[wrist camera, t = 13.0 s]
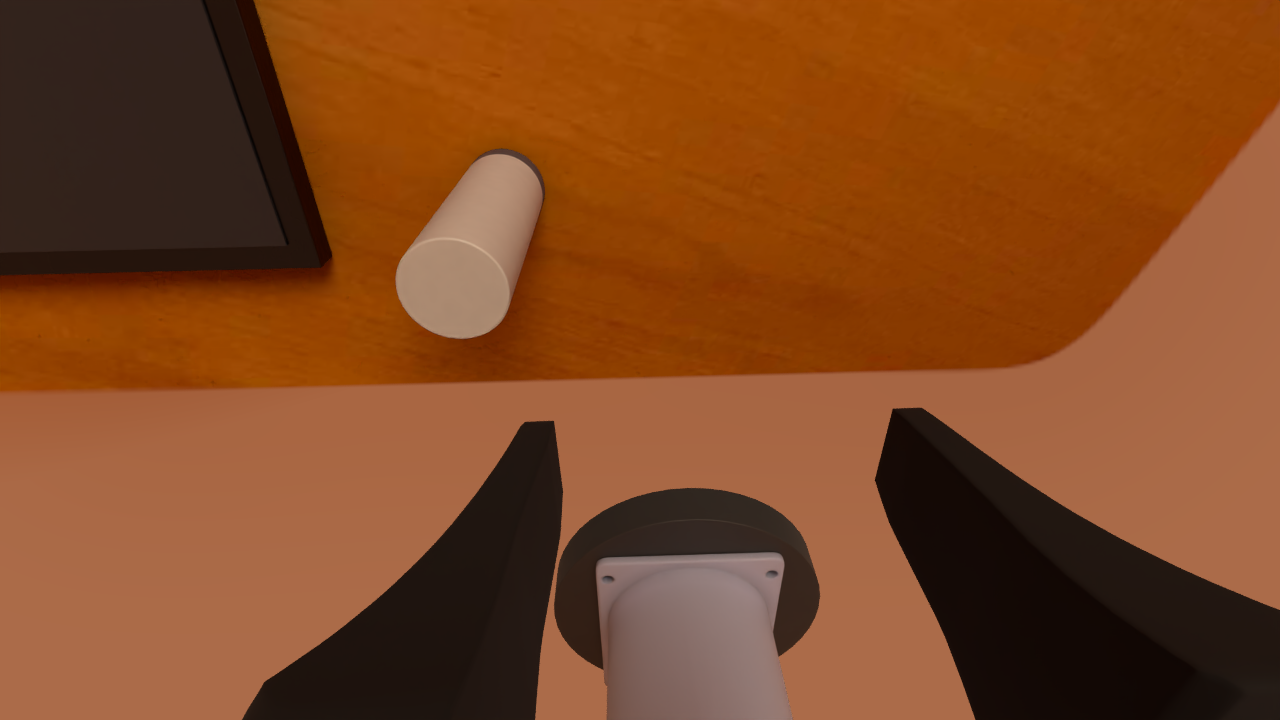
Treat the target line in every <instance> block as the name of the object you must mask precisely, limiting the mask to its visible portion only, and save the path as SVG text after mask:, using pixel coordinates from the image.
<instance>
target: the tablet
mask: <svg viewBox="0 0 1280 720" xmlns="http://www.w3.org/2000/svg"><path fill="white" fill-rule="evenodd" d="M331 257H332V254H331V251H330V247H329V244H328V241H327V238H326V235H325V231H324V228H323V225H322V222H321V218H320V215H319V212H318V209H317V205H316V202H315V199H314V196H313V193H312V189H311V186H310V183H309V180H308V176H307V173H306V170H305V167H304V163H303V160H302V157H301V154H300V150H299V147H298V144H297V141H296V138H295V134H294V131H293V128H292V125H291V121H290V118H289V115H288V112H287V108H286V105H285V102H284V99H283V96H282V92H281V89H280V86H279V83H278V79H277V76H276V73H275V70H274V66H273V63H272V60H271V57H270V53H269V50H268V47H267V44H266V41H265V37H264V34H263V31H262V28H261V24H260V21H259V18H258V15H257V11H256V8H255V5H254V2H253V0H0V275H28V274H70V273H112V272H154V271H197V270H239V269H281V268H321V267H322V266H323V265H324V264H325V263H326V262H327V261H328V260H329V259H330V258H331Z"/></svg>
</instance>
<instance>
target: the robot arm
mask: <svg viewBox="0 0 1280 720" xmlns="http://www.w3.org/2000/svg"><path fill="white" fill-rule="evenodd" d="M875 482H876V485H877V488H878V491H879V494H880V497H881V501H882V503H883V506H884V509H885V512H886V515H887V518H888V520H889V523H890V525H891V527H892V529H893V531H894V534H895V535H896V538H897V540H898V542H899V544H900V546H901V548H902V550H903V552H904V554H905V556H906V558H907V560H908V562H909V564H910V566H911V568H912V570H913V572H914V574H915V576H916V578H917V580H918V582H919V584H920V586H921V588H922V590H923V592H924V594H925V595H926V598H927V600H928V602H929V603H930V605H931V608H932V610H933V612H934V614H935V616H936V618H937V620H938V622H939V625H940V627H941V629H942V631H943V633H944V636H945V638H946V641H947V643H948V646H949V648H950V651H951V654H952V656H953V659H954V662H955V664H956V667H957V669H958V672H959V675H960V677H961V680H962V683H963V686H964V688H965V691H966V694H967V697H968V700H969V703H970V705H971V708H972V711H973V714H974V717H975V720H1280V610H1278V609H1276V608H1273V607H1270V606H1267V605H1265V604H1263V603H1260V602H1258V601H1255V600H1252V599H1250V598H1248V597H1246V596H1243V595H1241V594H1238V593H1236V592H1234V591H1231V590H1229V589H1226V588H1224V587H1222V586H1219V585H1217V584H1214V583H1212V582H1210V581H1207V580H1205V579H1203V578H1201V577H1199V576H1196V575H1194V574H1192V573H1190V572H1187V571H1185V570H1183V569H1181V568H1179V567H1177V566H1175V565H1173V564H1170V563H1168V562H1166V561H1164V560H1162V559H1160V558H1158V557H1156V556H1154V555H1152V554H1150V553H1148V552H1146V551H1144V550H1142V549H1140V548H1137V547H1136V546H1134V545H1132V544H1130V543H1128V542H1126V541H1124V540H1122V539H1120V538H1118V537H1116V536H1115V535H1113V534H1111V533H1109V532H1107V531H1106V530H1104V529H1102V528H1100V527H1098V526H1097V525H1095V524H1093V523H1091V522H1090V521H1088V520H1086V519H1084V518H1083V517H1081V516H1079V515H1077V514H1076V513H1074V512H1072V511H1071V510H1069V509H1067V508H1066V507H1064V506H1062V505H1061V504H1059V503H1058V502H1056V501H1054V500H1053V499H1051V498H1050V497H1048V496H1047V495H1045V494H1044V493H1042V492H1040V491H1039V490H1037V489H1036V488H1034V487H1033V486H1031V485H1030V484H1028V483H1027V482H1025V481H1024V480H1022V479H1021V478H1019V477H1018V476H1016V475H1015V474H1013V473H1012V472H1010V471H1009V470H1008V469H1006V468H1005V467H1003V466H1002V465H1000V464H999V463H998V462H996V461H995V460H994V459H992V458H991V457H989V456H988V455H987V454H985V453H984V452H982V451H981V450H980V449H978V448H977V447H976V446H974V445H973V444H971V443H970V442H969V441H967V440H966V439H965V438H963V437H962V436H961V435H959V434H958V433H956V432H955V431H954V430H952V429H951V428H950V427H948V426H947V425H945V424H944V423H943V422H942V421H940V420H939V419H937V418H936V417H934V416H933V415H932V414H930V413H929V412H927V411H926V410H924V409H923V408H901V409H893V410H892V414H891V418H890V422H889V426H888V430H887V434H886V438H885V442H884V446H883V450H882V454H881V458H880V462H879V466H878V470H877V474H876V478H875ZM562 497H563V488H562V481H561V473H560V466H559V458H558V449H557V442H556V433H555V426H554V421H537V422H525V423H524V424H523V425H522V426H521V427H520V428H519V430H518V432H517V434H516V435H515V437H514V438H513V440H512V442H511V444H510V445H509V447H508V448H507V450H506V451H505V453H504V455H503V456H502V458H501V459H500V461H499V462H498V464H497V465H496V467H495V468H494V470H493V471H492V472H491V474H490V475H489V477H488V478H487V479H486V481H485V482H484V484H483V485H482V486H481V488H480V489H479V491H478V492H477V493H476V495H475V496H474V497H473V499H472V500H471V501H470V502H469V504H468V505H467V506H466V507H465V508H464V510H463V511H462V512H461V514H460V515H459V516H458V517H457V519H456V520H455V521H454V522H453V524H452V525H451V526H450V527H449V528H448V529H447V530H446V531H445V533H444V534H443V535H442V536H441V537H440V538H439V539H438V540H437V542H436V543H435V544H434V545H433V546H432V547H431V548H430V549H429V550H428V551H427V552H426V553H425V554H424V555H423V556H422V557H421V558H420V559H419V560H418V561H417V562H416V563H415V564H414V565H413V566H412V567H411V568H410V569H409V570H408V571H407V572H406V573H405V574H404V575H403V576H402V577H401V578H400V579H399V580H398V581H397V582H396V583H395V584H394V585H393V586H391V587H390V588H389V589H388V590H387V591H386V592H385V593H384V594H382V595H381V596H380V597H379V598H378V599H377V600H376V601H374V602H373V603H372V604H371V605H369V606H368V607H367V608H366V609H364V610H363V611H362V612H361V613H360V614H358V615H357V616H356V617H355V618H353V619H352V620H351V621H350V622H348V623H347V624H346V625H345V626H344V627H342V628H341V629H340V630H338V631H337V632H336V633H335V634H333V635H332V636H330V637H329V638H328V639H326V640H325V641H324V642H322V643H321V644H320V645H318V646H317V647H315V648H314V649H312V650H311V651H310V652H308V653H307V654H305V655H304V656H302V657H301V658H299V659H298V660H296V661H295V662H293V663H292V664H291V665H289V666H288V667H286V668H285V669H283V670H282V671H280V672H279V673H277V674H276V675H275V676H273V677H271V678H270V679H268V680H267V681H265V682H264V684H263V685H262V688H261V689H260V691H259V692H258V694H257V696H256V697H255V699H254V700H253V702H252V703H251V705H250V707H249V708H248V710H247V712H246V714H245V715H244V717H243V719H242V720H535V713H536V698H537V686H538V675H539V662H540V652H541V644H542V637H543V630H544V625H545V618H546V613H547V607H548V602H549V596H550V591H551V585H552V580H553V574H554V569H555V563H556V557H557V551H558V545H559V540H560V531H561V517H562V516H561V515H562ZM784 566H785V565H784V560H783V557H782V556H781V554H779V553H776V552H760V553H728V554H697V555H665V556H633V557H606V558H602V559H600V560H598V562H597V563H596V582H597V595H598V607H599V619H600V632H601V644H602V656H603V668H604V680H605V684H606V686H607V720H793V718H792V714H791V710H790V705H789V700H788V696H787V692H786V687H785V683H784V679H783V674H782V670H781V666H780V662H779V657H778V653H777V648H776V644H775V640H774V635H773V628H774V622H775V617H776V611H777V605H778V600H779V594H780V588H781V583H782V577H783V571H784Z"/></svg>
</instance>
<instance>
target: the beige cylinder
mask: <svg viewBox="0 0 1280 720" xmlns="http://www.w3.org/2000/svg"><path fill="white" fill-rule="evenodd" d="M544 195H545V188H544V182H543V179H542V176H541V174H540V172H539V170H538V169H537V167H536V166H535V165H534V164H533V163H532V162H531V161H530V160H529V159H528V158H527V157H525V156H524V155H522V154H520V153H518V152H515V151H512V150H508V149H495V150H491V151H488V152H485V153H484V154H482V155H480V156H479V157H478V158H477V159H476V160H475V161H474V162H473V164H472V165H471V166H470V168H469V169H468V170H467V172H466V173H465V174H464V176H463V177H462V178H461V180H460V181H459V182H458V184H457V185H456V186H455V188H454V189H453V190H452V192H451V193H450V194H449V196H448V197H447V198H446V200H445V201H444V202H443V204H442V205H441V206H440V208H439V209H438V210H437V212H436V213H435V214H434V216H433V217H432V218H431V220H430V221H429V222H428V224H427V225H426V226H425V228H424V229H423V230H422V232H421V233H420V234H419V236H418V237H417V238H416V240H415V241H414V242H413V244H412V245H411V246H410V248H409V249H408V250H407V252H406V253H405V254H404V256H403V257H402V259H401V260H400V262H399V265H398V268H397V271H396V289H397V294H398V297H399V299H400V301H401V304H402V306H403V307H404V309H405V310H406V312H407V313H408V314H409V315H410V316H411V318H413V319H414V320H415V321H416V322H417V323H418V324H419V325H421V326H422V327H424V328H425V329H427V330H429V331H431V332H433V333H435V334H438V335H440V336H444V337H448V338H454V339H468V338H474V337H478V336H481V335H483V334H485V333H488V332H489V331H491V330H492V329H494V328H495V327H496V326H497V325H499V324H500V322H501V321H502V320H503V318H504V317H505V315H506V313H507V311H508V308H509V305H510V302H511V299H512V296H513V293H514V290H515V287H516V284H517V281H518V278H519V275H520V272H521V268H522V265H523V262H524V259H525V256H526V253H527V250H528V247H529V244H530V241H531V238H532V235H533V232H534V229H535V226H536V222H537V219H538V216H539V213H540V210H541V207H542V204H543V201H544Z"/></svg>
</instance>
